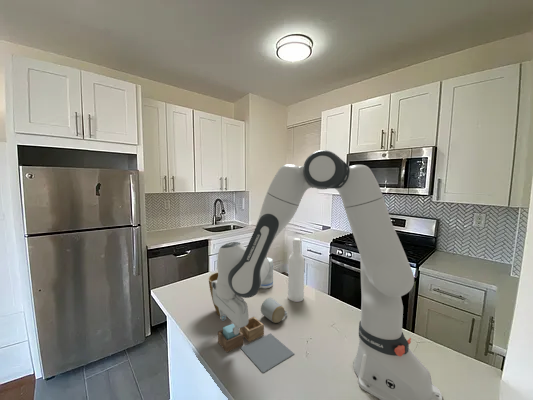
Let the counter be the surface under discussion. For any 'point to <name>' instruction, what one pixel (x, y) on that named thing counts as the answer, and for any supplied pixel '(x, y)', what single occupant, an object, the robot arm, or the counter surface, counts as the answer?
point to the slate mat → (267, 352)
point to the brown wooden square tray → (230, 341)
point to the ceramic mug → (273, 310)
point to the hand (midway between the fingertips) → (229, 326)
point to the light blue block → (229, 332)
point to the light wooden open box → (253, 329)
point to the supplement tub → (268, 276)
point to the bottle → (296, 273)
